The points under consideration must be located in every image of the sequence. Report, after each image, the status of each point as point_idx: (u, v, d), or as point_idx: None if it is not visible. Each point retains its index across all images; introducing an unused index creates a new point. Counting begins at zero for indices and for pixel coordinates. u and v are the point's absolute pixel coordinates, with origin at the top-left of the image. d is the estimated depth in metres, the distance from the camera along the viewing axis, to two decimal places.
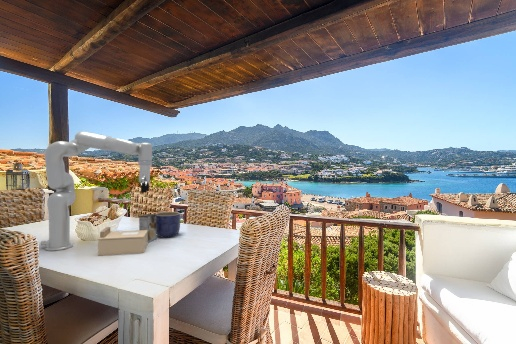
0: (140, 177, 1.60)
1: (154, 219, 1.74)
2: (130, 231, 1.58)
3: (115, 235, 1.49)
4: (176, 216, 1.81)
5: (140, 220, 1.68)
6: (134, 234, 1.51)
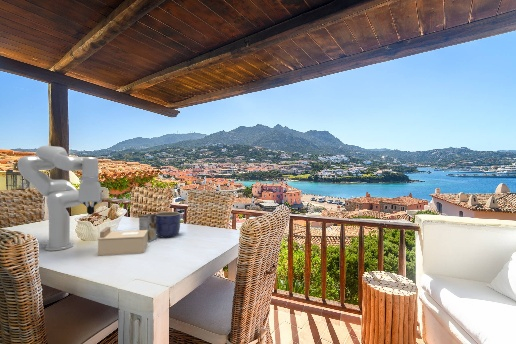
0: (99, 195, 1.47)
1: (154, 219, 1.74)
2: (130, 231, 1.58)
3: (115, 235, 1.49)
4: (176, 216, 1.81)
5: (140, 220, 1.68)
6: (134, 234, 1.51)
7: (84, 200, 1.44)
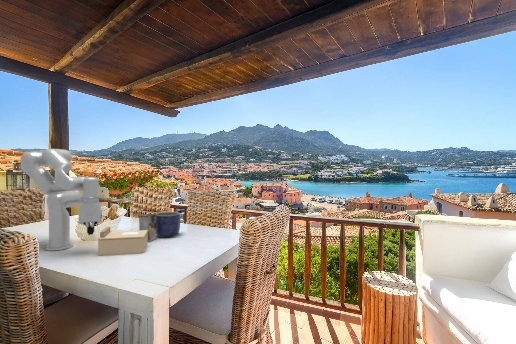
0: (99, 215, 1.47)
1: (154, 219, 1.74)
2: (130, 231, 1.58)
3: (115, 235, 1.49)
4: (176, 216, 1.81)
5: (140, 220, 1.68)
6: (134, 234, 1.51)
7: (84, 221, 1.45)
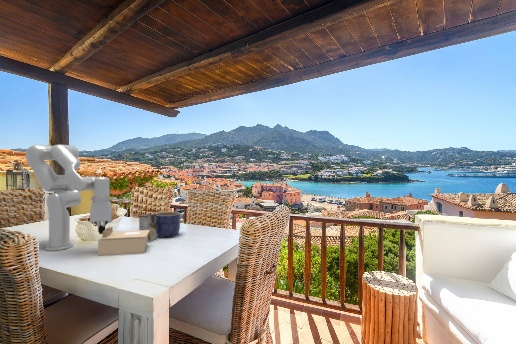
0: (110, 215, 1.49)
1: (154, 219, 1.74)
2: (132, 231, 1.59)
3: (117, 235, 1.49)
4: (176, 216, 1.81)
5: (140, 220, 1.68)
6: (136, 234, 1.52)
7: (95, 220, 1.46)
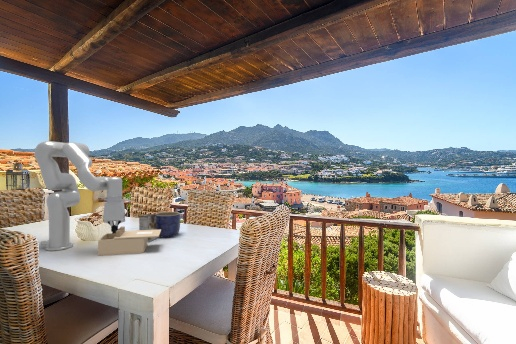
0: (123, 214, 1.50)
1: (154, 219, 1.74)
2: (144, 230, 1.60)
3: (130, 234, 1.51)
4: (176, 216, 1.81)
5: (140, 220, 1.68)
6: (149, 233, 1.53)
7: (109, 219, 1.48)
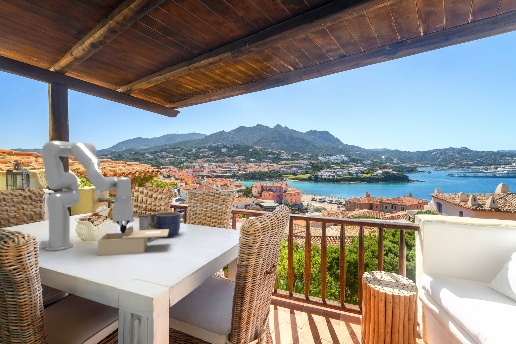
0: (132, 214, 1.51)
1: (154, 219, 1.74)
2: (152, 230, 1.61)
3: (139, 234, 1.52)
4: (176, 216, 1.81)
5: (140, 220, 1.68)
6: (157, 233, 1.54)
7: (118, 219, 1.49)
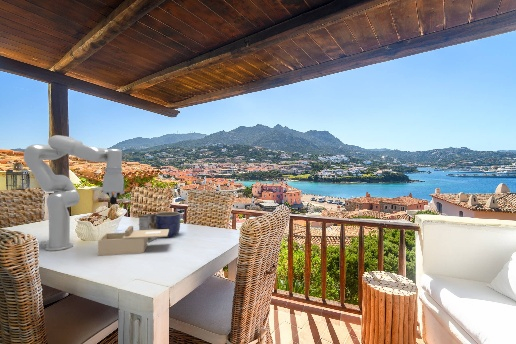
0: (122, 186, 1.52)
1: (154, 219, 1.74)
2: (152, 230, 1.61)
3: (139, 234, 1.52)
4: (176, 216, 1.81)
5: (140, 220, 1.68)
6: (157, 233, 1.54)
7: (108, 190, 1.49)
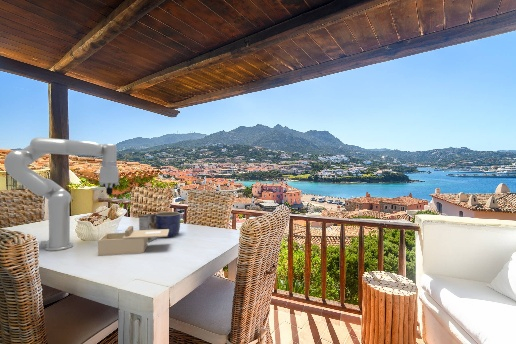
0: (117, 178, 1.66)
1: (154, 219, 1.74)
2: (152, 230, 1.61)
3: (139, 234, 1.52)
4: (176, 216, 1.81)
5: (140, 220, 1.68)
6: (157, 233, 1.54)
7: (104, 182, 1.63)
